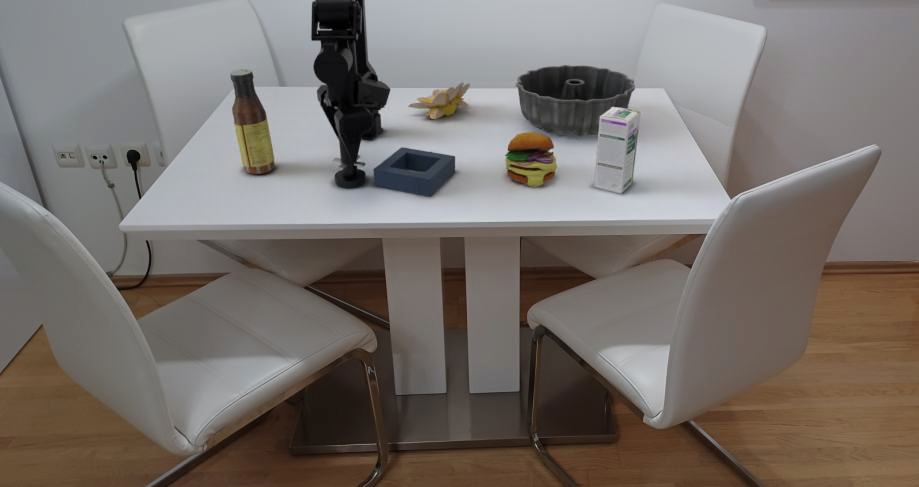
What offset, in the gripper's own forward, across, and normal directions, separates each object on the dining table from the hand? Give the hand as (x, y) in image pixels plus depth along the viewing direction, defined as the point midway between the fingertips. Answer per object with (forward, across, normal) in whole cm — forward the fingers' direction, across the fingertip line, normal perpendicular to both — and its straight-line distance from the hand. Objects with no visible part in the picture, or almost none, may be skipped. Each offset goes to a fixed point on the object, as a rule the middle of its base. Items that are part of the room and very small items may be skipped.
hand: (347, 149), depth 135 cm
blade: (+7, 0, 0) cm, 7 cm away
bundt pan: (+7, +11, -55) cm, 57 cm away
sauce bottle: (+7, +13, +16) cm, 21 cm away
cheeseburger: (+7, -10, -33) cm, 36 cm away
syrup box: (+7, -20, -46) cm, 51 cm away
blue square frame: (+7, -4, -12) cm, 14 cm away
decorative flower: (+7, +29, -30) cm, 43 cm away
